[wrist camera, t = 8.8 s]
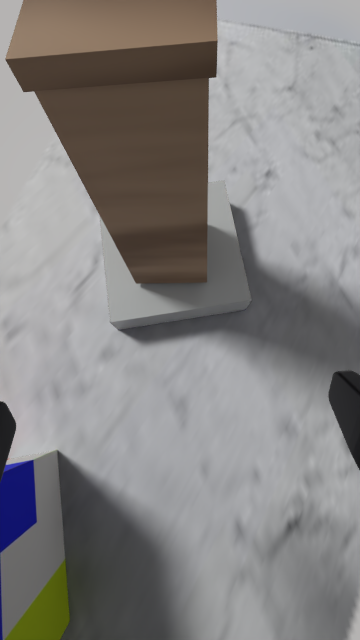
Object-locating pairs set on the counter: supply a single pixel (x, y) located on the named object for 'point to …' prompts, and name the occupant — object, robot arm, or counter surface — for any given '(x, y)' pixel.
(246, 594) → the counter surface
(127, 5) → the walnut canister
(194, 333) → the counter surface
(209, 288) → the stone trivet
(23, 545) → the puzzle toy
